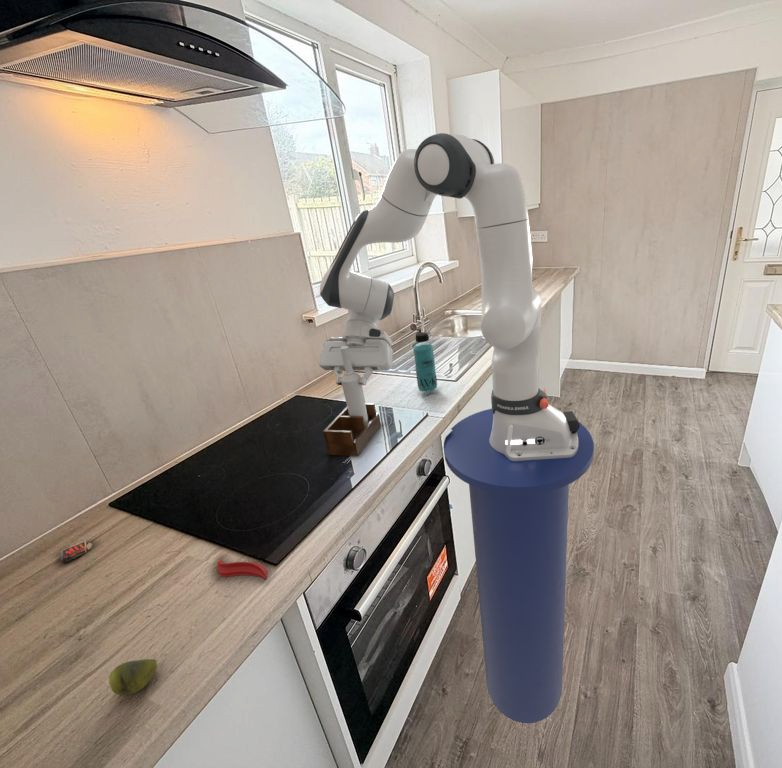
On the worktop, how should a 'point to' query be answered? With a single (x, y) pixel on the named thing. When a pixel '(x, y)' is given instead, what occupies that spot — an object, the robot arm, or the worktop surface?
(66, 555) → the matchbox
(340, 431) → the box
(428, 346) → the beverage bottle
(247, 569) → the cayenne pepper
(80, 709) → the worktop surface
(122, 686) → the olive green oval lump
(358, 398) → the bottle
